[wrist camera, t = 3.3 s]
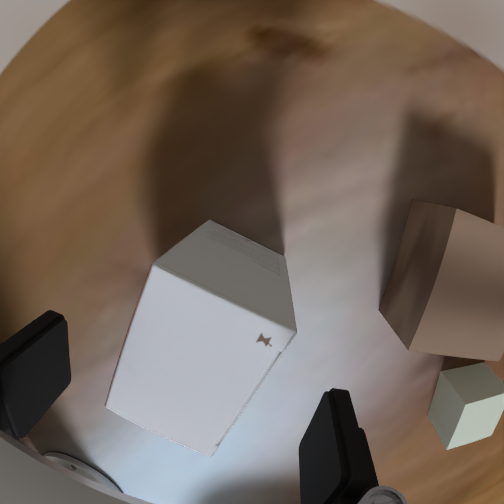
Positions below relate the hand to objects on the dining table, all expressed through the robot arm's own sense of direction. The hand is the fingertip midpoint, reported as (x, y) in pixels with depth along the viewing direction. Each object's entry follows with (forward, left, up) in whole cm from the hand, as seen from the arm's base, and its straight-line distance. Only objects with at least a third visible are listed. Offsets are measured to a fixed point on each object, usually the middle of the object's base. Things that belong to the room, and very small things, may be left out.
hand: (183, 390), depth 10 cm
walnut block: (+4, -15, -12) cm, 20 cm away
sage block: (-6, -22, -12) cm, 25 cm away
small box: (-1, 0, -12) cm, 12 cm away
